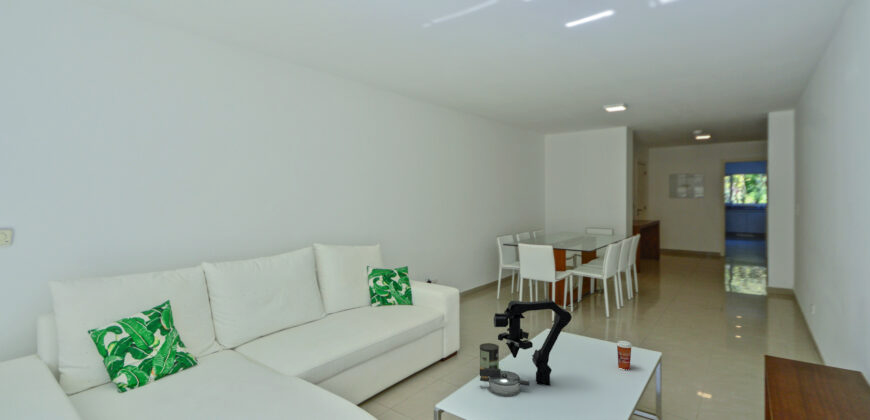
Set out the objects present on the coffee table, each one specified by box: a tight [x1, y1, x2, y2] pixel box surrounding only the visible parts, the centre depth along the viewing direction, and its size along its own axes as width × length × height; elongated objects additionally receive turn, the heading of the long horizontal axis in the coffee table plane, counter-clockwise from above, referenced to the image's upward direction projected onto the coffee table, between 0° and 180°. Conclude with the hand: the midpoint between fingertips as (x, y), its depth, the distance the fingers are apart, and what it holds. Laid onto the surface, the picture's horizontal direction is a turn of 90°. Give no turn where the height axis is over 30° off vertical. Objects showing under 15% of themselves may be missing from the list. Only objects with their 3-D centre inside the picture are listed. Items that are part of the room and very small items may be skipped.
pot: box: [479, 376, 530, 398], centre depth 200 cm, size 24×15×5 cm, turn 76°
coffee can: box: [479, 342, 500, 369], centre depth 219 cm, size 10×10×14 cm
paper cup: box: [616, 340, 633, 370], centre depth 224 cm, size 8×8×14 cm
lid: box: [479, 366, 521, 385], centre depth 200 cm, size 19×15×5 cm
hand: (514, 357), depth 206 cm, fingers closed
